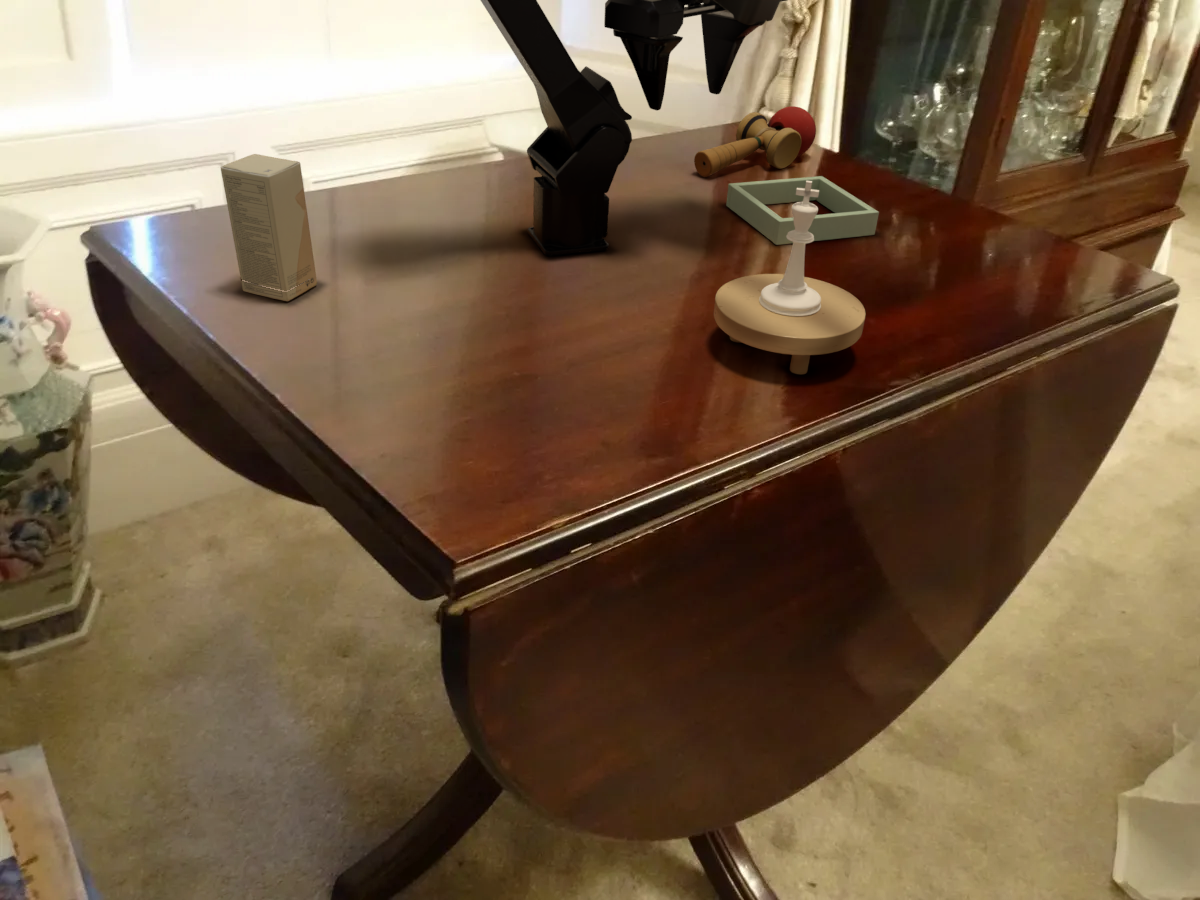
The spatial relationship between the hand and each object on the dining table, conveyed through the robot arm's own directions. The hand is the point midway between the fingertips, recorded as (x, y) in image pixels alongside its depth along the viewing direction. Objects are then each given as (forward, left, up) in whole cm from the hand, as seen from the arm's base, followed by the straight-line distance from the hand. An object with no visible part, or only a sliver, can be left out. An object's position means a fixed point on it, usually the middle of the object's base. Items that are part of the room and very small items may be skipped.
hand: (685, 101), depth 99 cm
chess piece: (-2, -26, -9) cm, 28 cm away
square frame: (+14, 0, -13) cm, 19 cm away
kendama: (+18, +18, -13) cm, 29 cm away
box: (-40, -4, -13) cm, 42 cm away
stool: (-2, -26, -13) cm, 29 cm away
